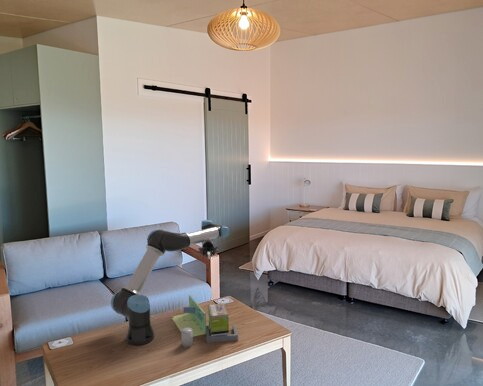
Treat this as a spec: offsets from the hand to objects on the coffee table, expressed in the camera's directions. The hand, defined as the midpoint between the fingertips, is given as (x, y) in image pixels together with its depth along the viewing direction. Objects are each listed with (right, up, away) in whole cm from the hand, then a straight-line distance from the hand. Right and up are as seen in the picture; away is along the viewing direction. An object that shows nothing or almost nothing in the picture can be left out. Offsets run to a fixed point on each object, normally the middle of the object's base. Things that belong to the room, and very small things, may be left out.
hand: (209, 256), depth 242 cm
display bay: (+9, -41, -19) cm, 46 cm away
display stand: (-12, -40, -6) cm, 42 cm away
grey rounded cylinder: (-9, -43, -28) cm, 52 cm away
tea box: (+7, -41, -17) cm, 45 cm away
